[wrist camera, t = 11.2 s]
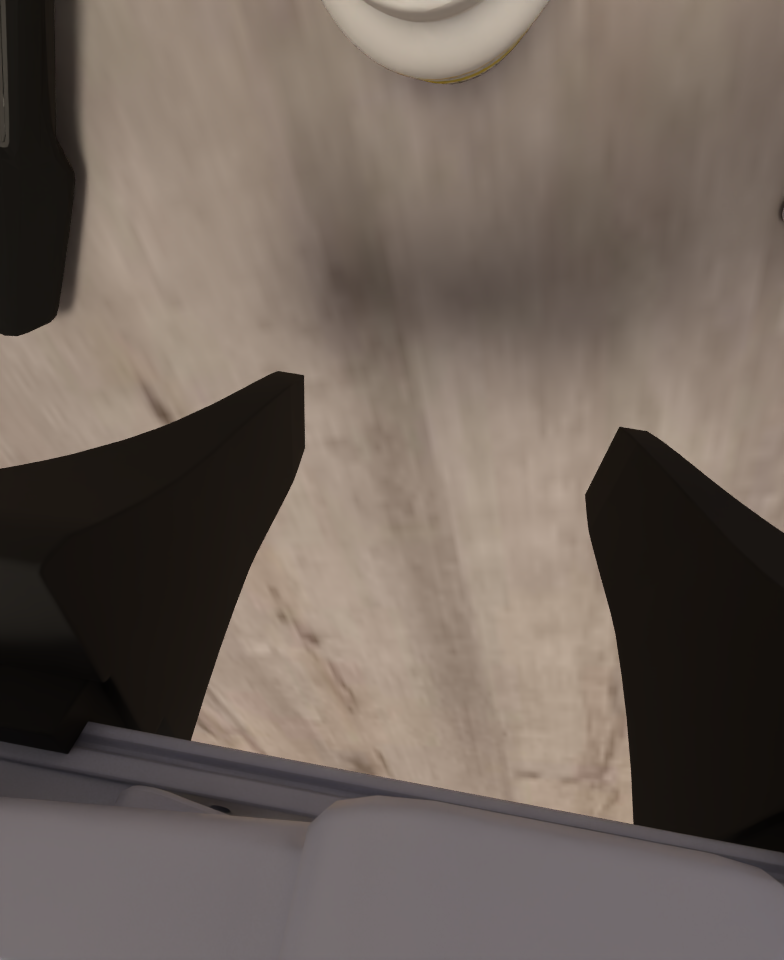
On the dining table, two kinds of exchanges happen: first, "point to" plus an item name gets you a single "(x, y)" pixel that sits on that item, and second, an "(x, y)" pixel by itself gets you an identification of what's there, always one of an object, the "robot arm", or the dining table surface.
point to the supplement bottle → (435, 33)
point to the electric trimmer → (30, 170)
